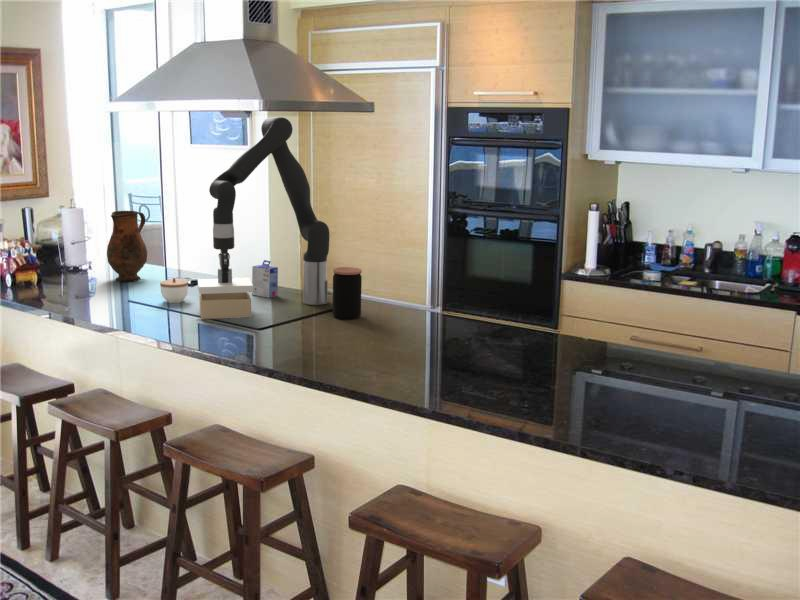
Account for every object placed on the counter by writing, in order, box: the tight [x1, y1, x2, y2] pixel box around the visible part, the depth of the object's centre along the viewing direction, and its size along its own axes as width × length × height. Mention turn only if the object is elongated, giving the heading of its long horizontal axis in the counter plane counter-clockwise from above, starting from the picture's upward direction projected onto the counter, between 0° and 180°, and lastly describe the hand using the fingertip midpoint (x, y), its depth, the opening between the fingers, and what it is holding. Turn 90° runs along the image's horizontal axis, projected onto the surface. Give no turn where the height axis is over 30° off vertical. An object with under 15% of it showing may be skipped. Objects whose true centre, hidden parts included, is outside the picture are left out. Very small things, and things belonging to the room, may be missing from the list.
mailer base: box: [198, 292, 252, 320], centre depth 301 cm, size 18×13×7 cm
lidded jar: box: [159, 277, 189, 304], centre depth 319 cm, size 11×11×9 cm
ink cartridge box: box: [251, 259, 279, 299], centre depth 333 cm, size 10×6×14 cm, turn 58°
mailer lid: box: [197, 267, 253, 295], centre depth 299 cm, size 19×14×8 cm
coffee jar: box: [332, 266, 363, 321], centre depth 302 cm, size 11×11×18 cm
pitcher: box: [106, 210, 148, 283], centre depth 356 cm, size 17×21×30 cm
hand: (224, 281), depth 300 cm, fingers closed on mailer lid, 1 cm apart
